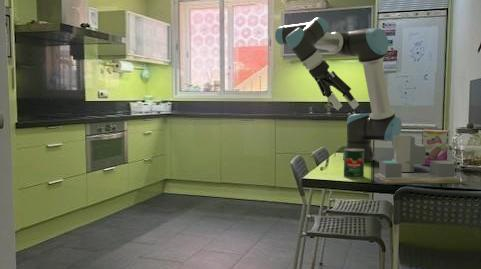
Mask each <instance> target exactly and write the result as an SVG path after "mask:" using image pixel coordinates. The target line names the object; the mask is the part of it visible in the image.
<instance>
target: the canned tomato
mask: <svg viewBox="0 0 481 269" xmlns="http://www.w3.org/2000/svg"><path fill="white" fill-rule="evenodd" d="M343 154H344V160H343V178H347V179H362V177H363V178H364V177H365V175H364V174H365V162H364V149H358V148H347V149H346V148H343Z"/></svg>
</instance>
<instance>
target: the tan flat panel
mask: <svg viewBox="0 0 481 269" xmlns="http://www.w3.org/2000/svg"><path fill="white" fill-rule="evenodd" d="M375 174H376V176H378V177H380V178H382V179H383V180H431V179H459V177H458V176H456V175H454V177H438V176H435V175H433V174H430V172H414V173H402V175H401V177H384V176H383V175H381V174H379V172H376V173H375Z"/></svg>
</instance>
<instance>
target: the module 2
mask: <svg viewBox="0 0 481 269" xmlns="http://www.w3.org/2000/svg"><path fill="white" fill-rule="evenodd" d="M455 169H456V163H453V162H451V161H449V162H448V161H430V166H429V173H430V174H433V175H435V176H438V177H454V176H456V175H455V171H456V170H455Z"/></svg>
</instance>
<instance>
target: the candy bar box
mask: <svg viewBox="0 0 481 269" xmlns="http://www.w3.org/2000/svg"><path fill="white" fill-rule="evenodd" d="M450 138H451V130H444V129H443V130H442V129H441V130H440V129H439V130H438V129H423V130H422V138H421V145H424V146H426V152H428V153H429V155H426V157H425V164H420V165H421V166H424V167H425V166H427V167H430V161H448V162H450V161H449V159H450V141H451V139H450Z"/></svg>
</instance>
